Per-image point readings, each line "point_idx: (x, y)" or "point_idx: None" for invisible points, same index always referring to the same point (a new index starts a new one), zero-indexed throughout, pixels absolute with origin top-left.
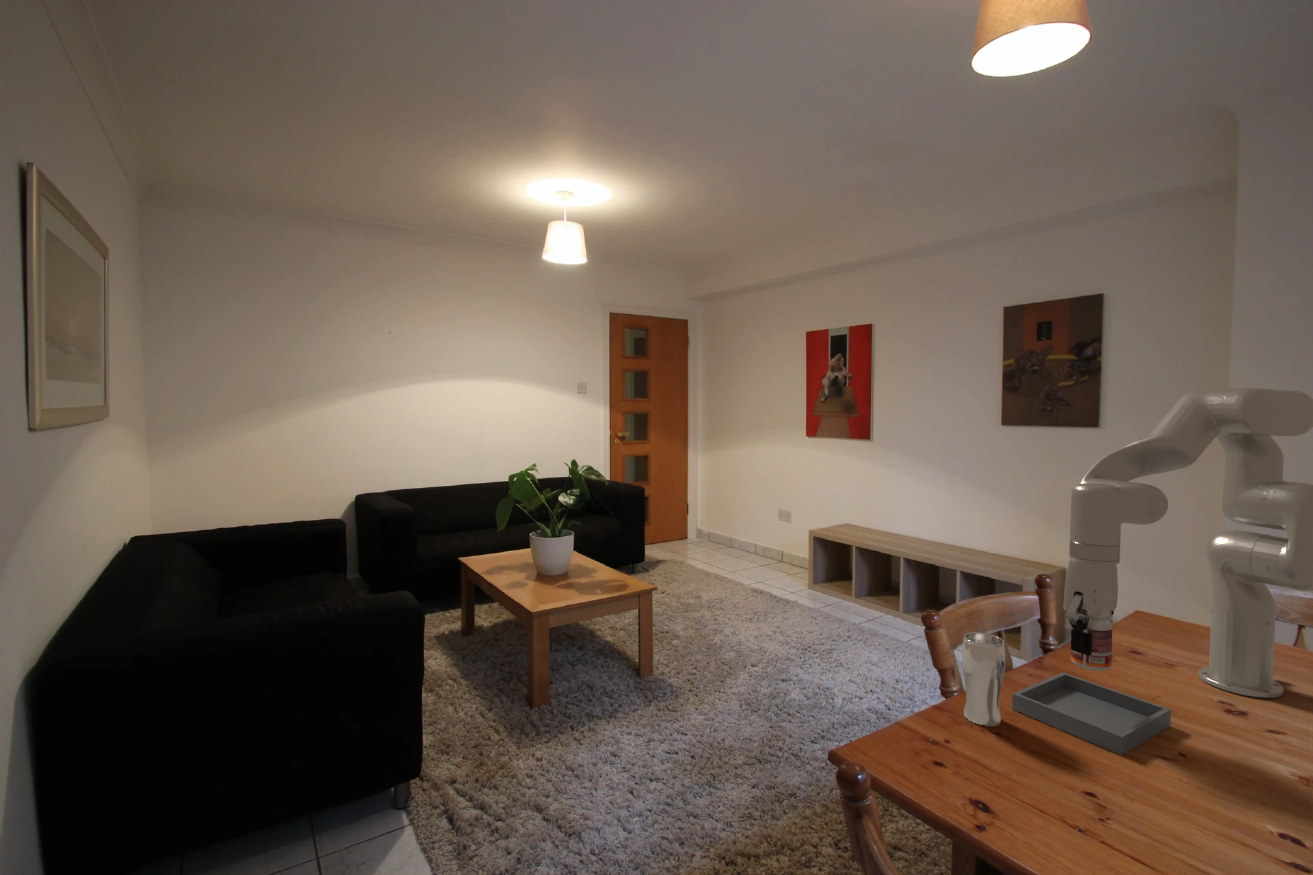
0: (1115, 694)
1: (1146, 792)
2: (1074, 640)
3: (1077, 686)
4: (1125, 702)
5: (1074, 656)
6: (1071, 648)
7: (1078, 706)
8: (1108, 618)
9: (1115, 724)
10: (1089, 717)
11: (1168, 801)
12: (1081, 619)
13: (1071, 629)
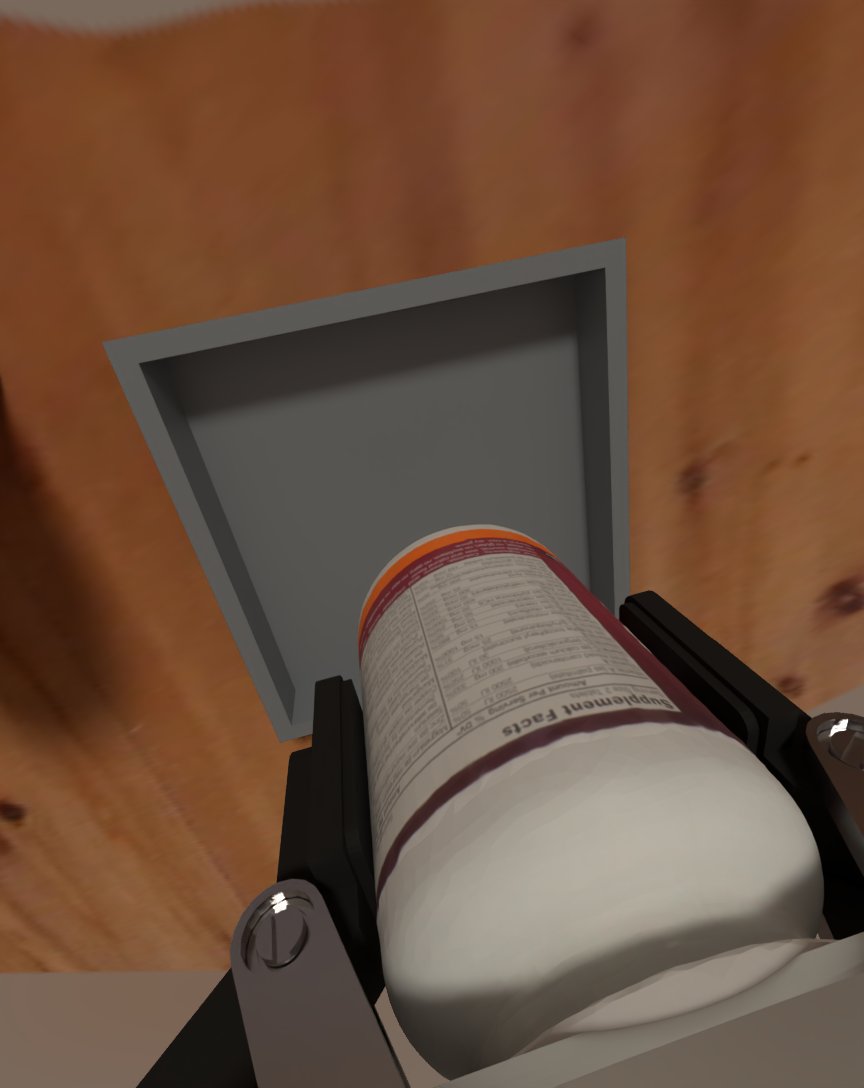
0: (605, 494)
1: (184, 819)
2: (289, 800)
3: (587, 336)
4: (597, 521)
5: (361, 632)
6: (318, 686)
7: (441, 446)
8: (823, 938)
9: None
10: (396, 525)
11: (205, 846)
12: (428, 1035)
13: (308, 847)
